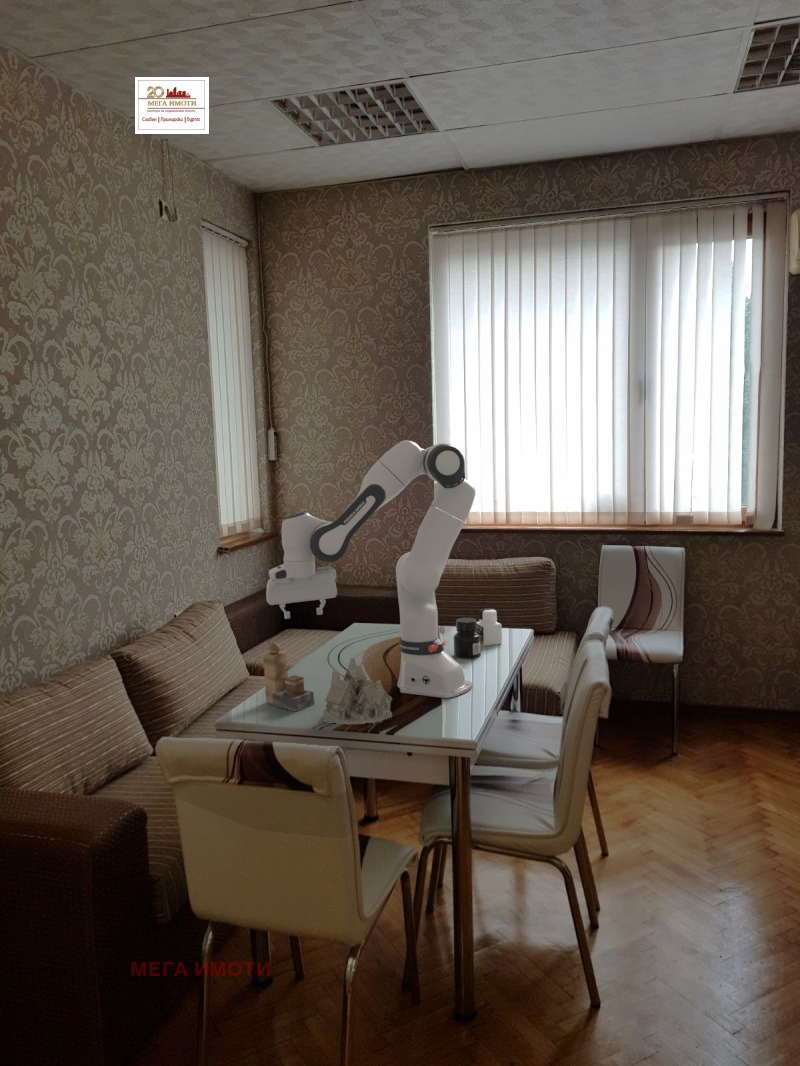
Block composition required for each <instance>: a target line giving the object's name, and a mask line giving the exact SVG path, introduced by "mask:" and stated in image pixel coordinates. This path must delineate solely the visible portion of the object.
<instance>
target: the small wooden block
mask: <svg viewBox="0 0 800 1066" xmlns="http://www.w3.org/2000/svg"><path fill="white" fill-rule="evenodd" d="M304 682H305V678H304V676H301V675H297V674H293V675H290V676H288V678H286V680H285V683H286V695H287V696H291V697H297V696H299V695H302V694H304V690H305V683H304Z"/></svg>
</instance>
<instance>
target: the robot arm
mask: <svg viewBox="0 0 800 1066" xmlns="http://www.w3.org/2000/svg"><path fill="white" fill-rule="evenodd" d="M465 463H466V461H465V457H464V454H463V452H462V451H461V450H460V449H459V447H457V446H456V445H454V444H451V443H444V442H443V443H437V444H434V445H431V446H428V447H424V448H421V447H420V445H418V444H417V443H416V442H415V441H412V440H407V439H404V440H402V441H399V442H398V443H397V444H396V445H394V446H393V447H391V448H390V449H389V450H388V451H386V452H385V453H384V454H383V455H382V456H380V458H379V459H378V460H377V461H376V462H375V463H374V464H373V465H372V466H371V468H370V469H369V470H368V471H367V473H366V474H365V476H364V478H363V480H362V483H361V485H360V486H361V487H360V488H359V489H360V490H359V491H358V493H357V496H356V497H355V499H353V501H352V502H351V503H350V505H348V506H347V507H346V508H345V509H344V511H342V513H341V514H340V515H339V516H338V517H337V518H336V519H335V520H334V521H327V520H325V519H322V518H318V517H315V516H313V515H312V514H310V513H309V512H307V511H299V512H294V513H292V514H289V515H287V516H285V518H284V519H283V520H282V523H281V545H282V549H283V552H284V554H283V564H280V565H278V566H276V567H273V568H271V569H269V571H268V576H269V579H268V580H267V583H266V591H265V592H266V593H265V595H266V603H268V604H269V605H270V606H274V605H279V608H280V609H281V611H282V612H283V615H284V619H285V620H287V619H288V620H289V619H291V612H290V611H287V610H286V609H285V608H286V604H292V603H300V602H308V601H310V602H311V601H318V600H319V602H320V604H319V606H318V607H316V608H315V609H316V615H317V616H321V615H323V613H324V612H323V611H324V610H323V608H324V607H325V605H326V603H327V601H326V599H327V600H328V599H335V598H336V597H337V595H338V589H337V584H336V579H337V570H336V569H335V568H334V567H332V566H329V565H328V566H327V565H326V566H319V567H318V566H317V567H316V563H315V562H316V561H315V558H316V559H317V560H318V561H321V562H323V563H332V562H336V561H338V560H340V559H341V558H342V557H343V556H345V555H344V554H345V553H346V552H347V549H348V547H349V543H350V541H351V539H352V538H353V535H354V534H356V533H357V531H359V529H360V528H361V527H362V526H363V525H364V524H365V523H366V522H367V520H369V518H370V517H371V516H372V515H374V513H376V512H377V511H378V510H379V509H381V508H382V507H383V506H385V505H387V503H389V502H391V500H393V499H394V498H396V497H397V496H398V495H399V494H400V493H401V492H402V491H403V490H405V488H406V487H407V486H409V484H410V483H411V482H412V481H414V480H415V479H416V478H417V477H418V476H421V475H423V476H424V477H427V478H428V479H430V480H432V481H433V482H436V484H437V491H436V495H435V497H434V498H433V500H432V501H431V505H430V506H429V508H428V510H427V512H426V514H425V516H424V518H423V520H422V522H421V523H420V526H419V527H418V530H417V534H416V537H415V539H414V542H413V545H412V547H411V549H410V551H408V552H406V553H404V554H403V555H401V556H400V557H399V559H398V561H397V563H396V565H395V575H396V576H395V577H396V578H395V579H396V587H397V597H398V598H397V599H398V600H397V601H398V607H399V618H400V619H399V622H400V625H399V626H400V627H399V628H400V638H399V651H400V667H399V668H400V669H399V676H398V681H397V684H396V686H397V687H398V688H399V692H400V693H402V694H408V695H418V696H424V697H425V696H426V697H434V698H443V699H448V698H455V697H457V696H460V695H463V694H465V693H467V692H469V691H470V690H472V688H473V682H472V681H470V680H466V679H465V674H464V670H463V669H464V668H463V666H462V665H461V664H460V663H458V661H457V660H455V659H454V658H453V657H452V656H451V655H449V654H448V653H447V651H445V648H444V646H446V645H447V640H444V641H442V639H441V637H440V636H439V622H438V621H439V618H438V617H439V616H438V606H437V601H436V592H435V591H436V590H437V588H438V587H439V585H440V580H441V577H442V574H443V572H444V570H445V567H446V566H447V562H448V560H449V557H450V554H451V551H452V548H453V546H454V544H455V542H456V540H457V538H458V536H459V534H460V532H461V530H462V529H463V526H464V525H465V522H466V520H468V517H469V514H470V512H471V509H472V507H473V504H474V500H475V496H476V489H475V487H474V485H473V484H472V483H471V482H470V481H469V480H468V479H466V464H465Z"/></svg>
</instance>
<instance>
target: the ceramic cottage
mask: <svg viewBox="0 0 800 1066" xmlns="http://www.w3.org/2000/svg"><path fill="white" fill-rule="evenodd" d="M349 661H350V662H348V668H347V669H346V672H345V674H344V678H343V679H341V674H340V671H339V670H338V669H336V670H335V669H334V670H333V671H332V673H331V680H330V688H329V690H328V693H327V695H326V698H325V699H324V701H325V702H326V705H325V709H324V711H323V716H322V720H323V721H324V720H325V721H328V722H331V723H337V724H342V725H343V724H346V725H366V724H365V723H373V724H376V723H375V722H379V723H382V722H381V721H383V720H385V719H386V720H389V719H391V718H392V717H393V713H392V711H391V703H392V701H393V698H392V696H391V695H390V694H388V693H387V692H386V690H385V689H384V687H383V684H382V681H381V680H376V682H374V681H373V680H370V679H367V678H368V677H367V676H366V673H365V671H364V669H363V668H362V665H357V661H356V659H355V658H354V657H350V659H349ZM390 717H391V718H390ZM388 718H389V719H388ZM386 720H385V721H386ZM325 721H324V722H325ZM383 722H384V721H383ZM331 723H330V724H331ZM337 724H336V725H337Z"/></svg>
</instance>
